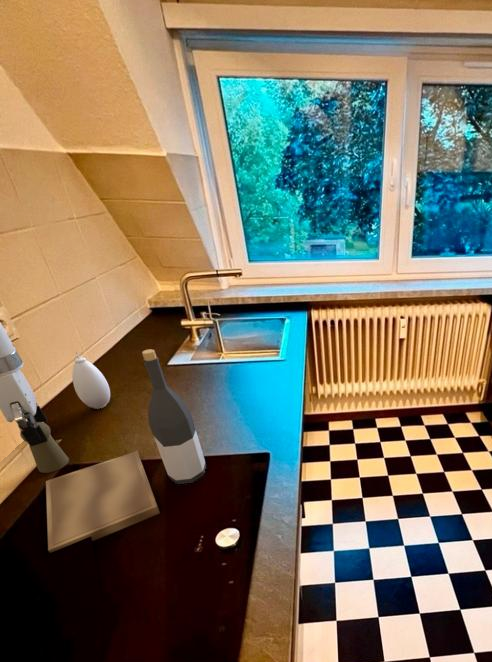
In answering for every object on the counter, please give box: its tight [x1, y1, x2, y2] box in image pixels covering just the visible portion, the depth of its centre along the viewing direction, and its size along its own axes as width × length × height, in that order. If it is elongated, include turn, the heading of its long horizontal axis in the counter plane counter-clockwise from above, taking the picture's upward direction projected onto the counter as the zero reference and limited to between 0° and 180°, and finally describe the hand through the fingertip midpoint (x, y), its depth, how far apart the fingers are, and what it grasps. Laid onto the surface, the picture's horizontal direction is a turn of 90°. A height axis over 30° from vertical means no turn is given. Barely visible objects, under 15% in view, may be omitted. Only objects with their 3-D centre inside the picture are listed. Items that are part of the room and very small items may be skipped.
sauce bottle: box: [72, 349, 111, 410], centre depth 107 cm, size 8×8×18 cm
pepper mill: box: [19, 422, 70, 474], centre depth 88 cm, size 6×6×11 cm
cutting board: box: [45, 450, 161, 553], centre depth 80 cm, size 18×22×2 cm
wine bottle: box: [141, 349, 207, 485], centre depth 80 cm, size 8×8×30 cm
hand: (39, 432), depth 86 cm, fingers open, 9 cm apart
